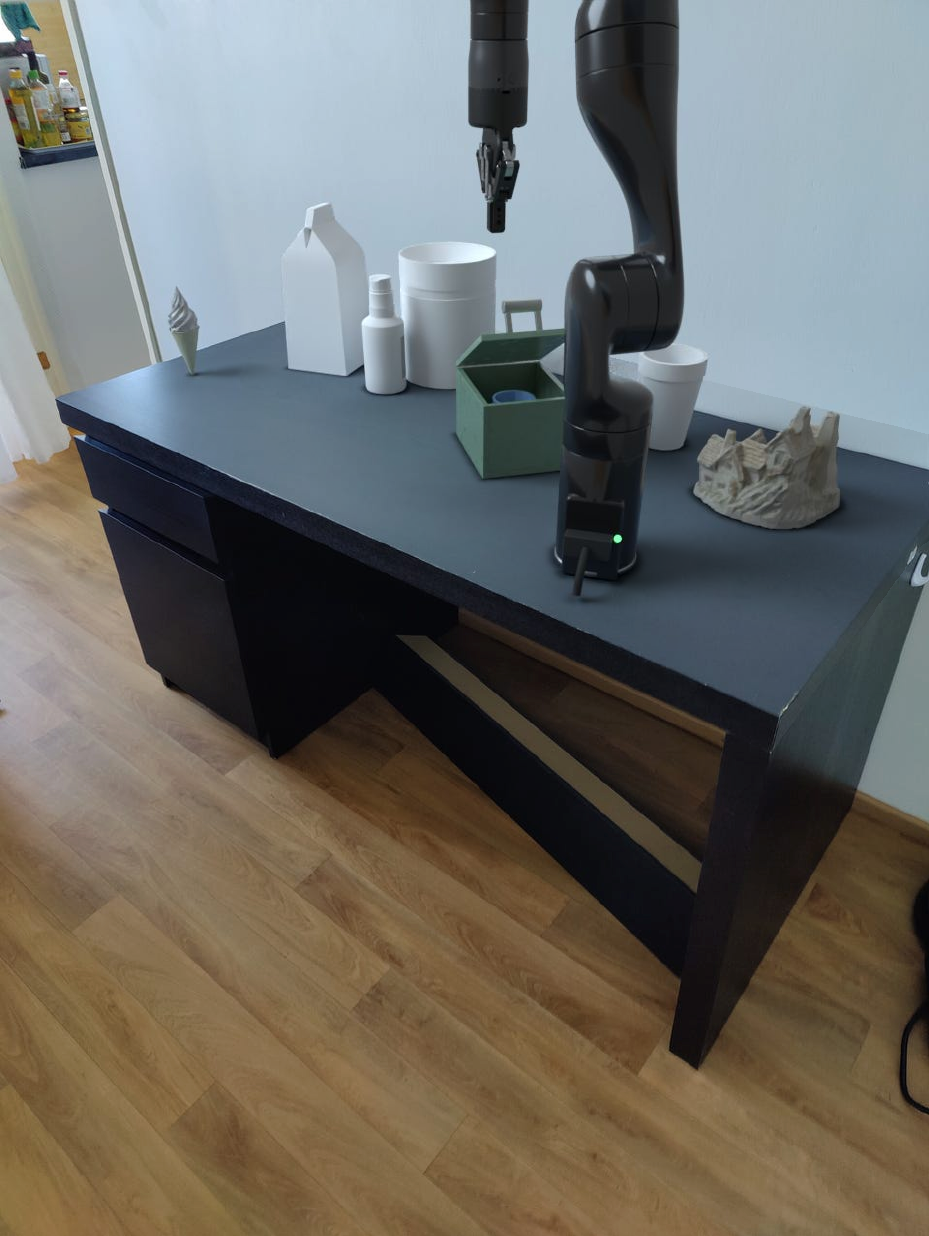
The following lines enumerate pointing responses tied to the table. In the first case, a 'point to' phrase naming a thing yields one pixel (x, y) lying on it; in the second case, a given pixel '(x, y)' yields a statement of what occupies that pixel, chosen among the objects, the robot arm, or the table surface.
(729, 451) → the ceramic cottage
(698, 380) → the foam cup
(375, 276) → the spray bottle
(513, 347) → the lid
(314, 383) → the table surface
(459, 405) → the green box
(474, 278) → the canister
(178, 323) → the ice cream cone
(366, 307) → the milk
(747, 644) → the table surface
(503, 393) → the cup
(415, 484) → the table surface
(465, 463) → the table surface
